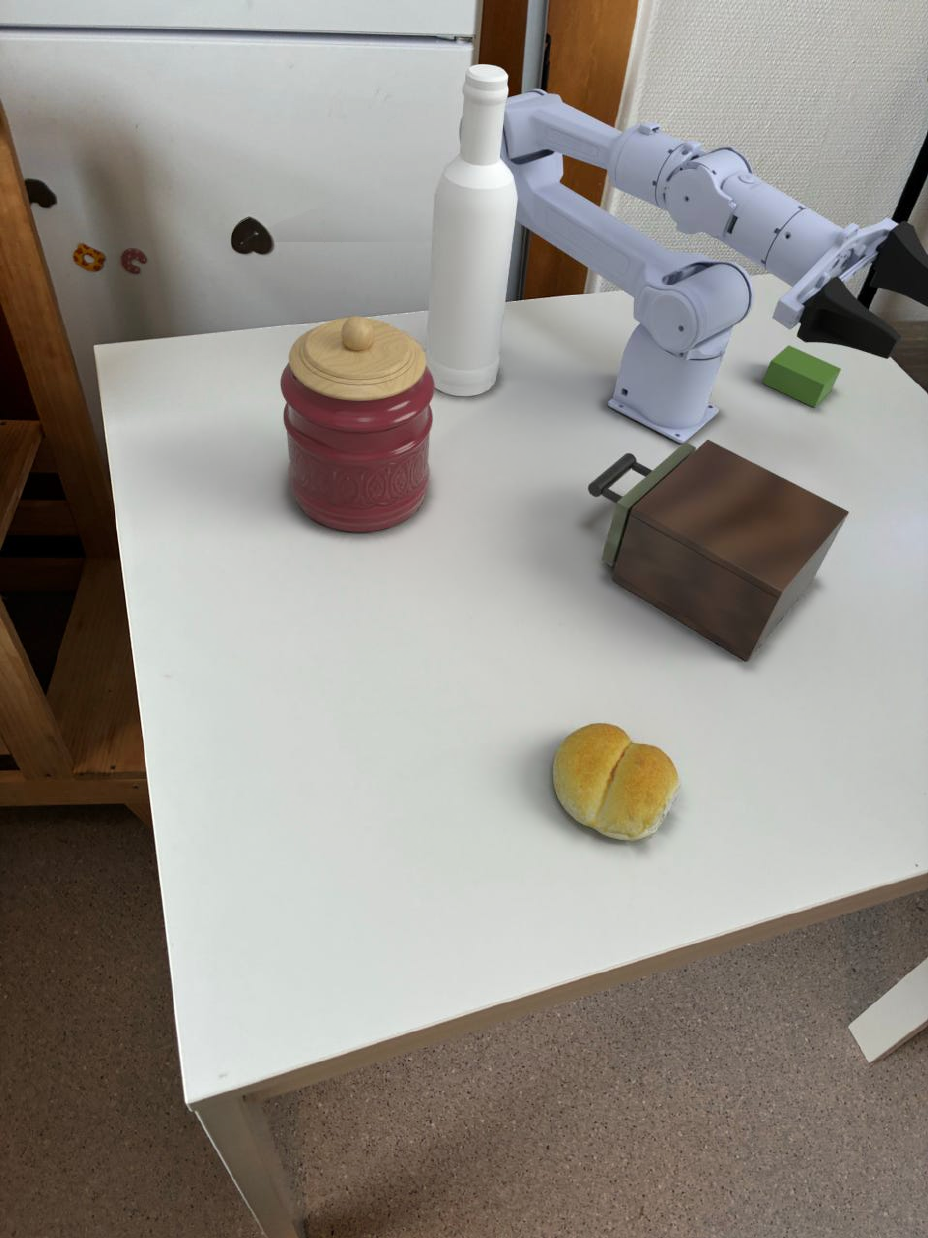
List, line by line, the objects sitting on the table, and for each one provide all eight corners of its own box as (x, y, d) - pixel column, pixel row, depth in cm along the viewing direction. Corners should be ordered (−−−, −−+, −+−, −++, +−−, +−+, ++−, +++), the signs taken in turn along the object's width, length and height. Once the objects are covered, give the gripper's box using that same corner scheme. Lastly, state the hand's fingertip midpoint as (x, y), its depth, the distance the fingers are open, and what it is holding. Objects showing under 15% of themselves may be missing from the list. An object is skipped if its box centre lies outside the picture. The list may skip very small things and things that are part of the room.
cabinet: (611, 579, 80) (632, 507, 73) (682, 510, 87) (707, 438, 80) (747, 662, 75) (782, 592, 68) (811, 582, 81) (849, 511, 75)
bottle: (504, 395, 97) (545, 88, 74) (433, 400, 95) (452, 88, 72) (486, 353, 102) (519, 53, 79) (418, 357, 100) (431, 53, 77)
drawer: (562, 536, 82) (575, 478, 76) (629, 478, 88) (645, 420, 83) (724, 633, 75) (749, 577, 70) (784, 563, 81) (812, 507, 76)
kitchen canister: (320, 551, 79) (309, 380, 66) (270, 463, 86) (251, 293, 73) (451, 513, 84) (467, 345, 70) (393, 432, 91) (397, 266, 78)
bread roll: (580, 721, 69) (590, 690, 66) (686, 780, 67) (701, 750, 64) (526, 798, 65) (534, 768, 62) (638, 865, 62) (652, 838, 59)
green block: (761, 383, 102) (770, 360, 100) (779, 367, 104) (788, 344, 102) (814, 408, 100) (824, 385, 97) (831, 391, 102) (841, 368, 100)
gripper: (745, 241, 72) (887, 331, 67) (857, 160, 76) (998, 240, 71) (724, 309, 78) (853, 397, 73) (829, 231, 83) (957, 309, 78)
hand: (923, 324), depth 73 cm, fingers open, 7 cm apart
